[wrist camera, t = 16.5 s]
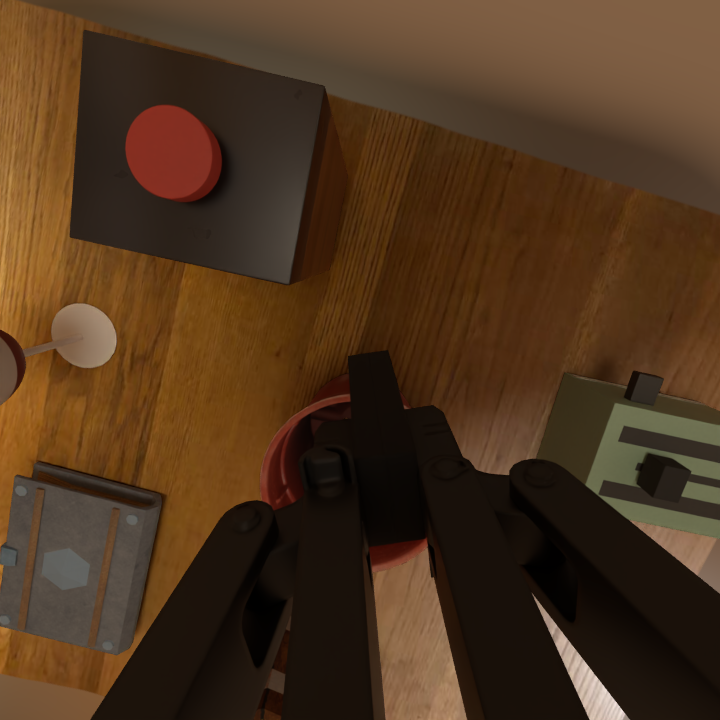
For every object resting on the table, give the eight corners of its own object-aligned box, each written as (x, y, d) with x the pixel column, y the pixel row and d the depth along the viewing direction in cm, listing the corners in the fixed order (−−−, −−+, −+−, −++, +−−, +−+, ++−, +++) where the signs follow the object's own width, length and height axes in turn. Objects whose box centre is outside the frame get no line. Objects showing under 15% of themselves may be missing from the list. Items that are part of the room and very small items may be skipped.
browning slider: (672, 458, 42) (692, 471, 40) (660, 488, 43) (678, 503, 40) (647, 452, 42) (665, 465, 40) (635, 483, 43) (652, 498, 40)
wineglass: (134, 335, 52) (-5, 384, 33) (86, 385, 54) (-74, 460, 34) (80, 284, 51) (-98, 302, 31) (33, 336, 52) (-166, 385, 33)
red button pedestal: (348, 174, 48) (325, 83, 22) (329, 270, 50) (289, 285, 25) (235, 148, 47) (82, 26, 22) (221, 246, 50) (68, 237, 24)
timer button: (227, 124, 22) (218, 115, 20) (215, 210, 23) (206, 207, 21) (144, 104, 22) (129, 94, 20) (135, 192, 22) (120, 188, 21)
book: (140, 630, 61) (120, 662, 56) (17, 599, 60) (-13, 630, 56) (168, 494, 57) (150, 516, 52) (36, 459, 56) (5, 478, 51)
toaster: (707, 378, 52) (795, 411, 41) (663, 486, 55) (735, 542, 44) (572, 348, 51) (626, 373, 41) (535, 459, 55) (576, 509, 44)
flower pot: (448, 373, 52) (482, 423, 37) (408, 498, 56) (424, 592, 40) (309, 337, 52) (283, 372, 36) (278, 466, 55) (242, 549, 40)
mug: (235, 677, 63) (194, 805, 48) (237, 593, 60) (194, 702, 45) (377, 688, 63) (380, 820, 48) (386, 604, 60) (392, 718, 45)
